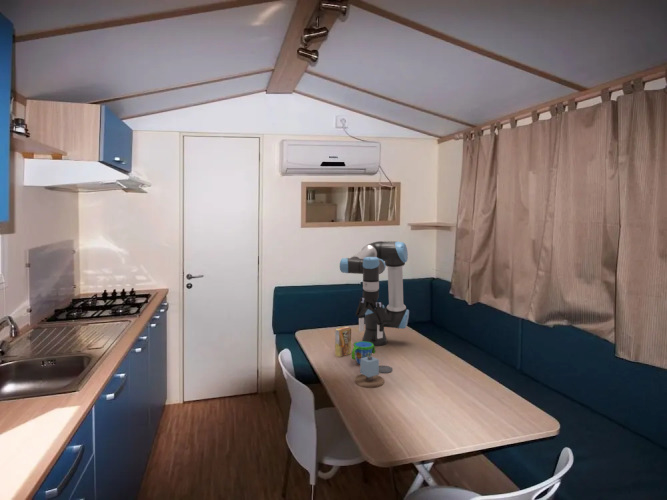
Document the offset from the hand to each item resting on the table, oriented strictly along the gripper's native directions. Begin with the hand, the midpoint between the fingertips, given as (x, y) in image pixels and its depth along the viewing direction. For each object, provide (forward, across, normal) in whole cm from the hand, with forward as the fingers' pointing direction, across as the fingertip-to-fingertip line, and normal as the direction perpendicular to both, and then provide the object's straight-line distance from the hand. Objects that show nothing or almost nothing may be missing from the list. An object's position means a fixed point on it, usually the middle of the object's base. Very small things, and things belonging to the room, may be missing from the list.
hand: (370, 334), depth 188 cm
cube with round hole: (+19, 0, 0) cm, 19 cm away
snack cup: (+23, -21, +13) cm, 34 cm away
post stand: (+23, 0, 0) cm, 23 cm away
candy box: (+23, -37, +11) cm, 45 cm away
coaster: (+23, -7, +15) cm, 28 cm away
